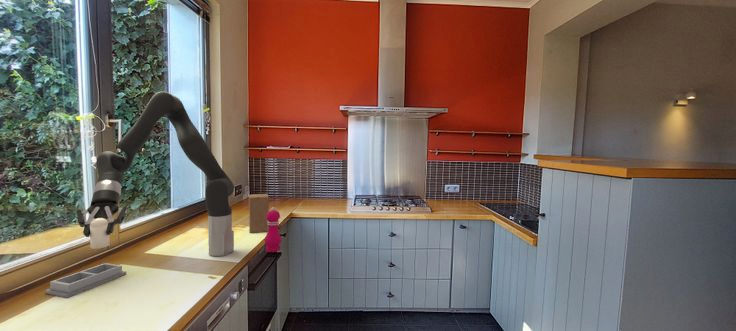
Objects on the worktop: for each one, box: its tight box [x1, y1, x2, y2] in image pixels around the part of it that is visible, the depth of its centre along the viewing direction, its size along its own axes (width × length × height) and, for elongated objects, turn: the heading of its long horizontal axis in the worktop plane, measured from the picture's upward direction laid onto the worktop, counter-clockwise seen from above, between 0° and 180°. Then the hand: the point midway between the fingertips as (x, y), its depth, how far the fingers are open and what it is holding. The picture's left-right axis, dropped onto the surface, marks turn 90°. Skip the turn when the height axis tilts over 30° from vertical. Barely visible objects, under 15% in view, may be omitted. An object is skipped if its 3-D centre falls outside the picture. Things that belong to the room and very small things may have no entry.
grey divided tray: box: [45, 262, 127, 299], centre depth 95 cm, size 10×17×4 cm, turn 166°
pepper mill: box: [264, 206, 282, 253], centre depth 129 cm, size 7×7×20 cm
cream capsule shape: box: [89, 218, 110, 250], centre depth 98 cm, size 5×5×10 cm
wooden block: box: [248, 193, 270, 234], centre depth 159 cm, size 10×10×20 cm
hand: (97, 234), depth 96 cm, fingers closed on cream capsule shape, 4 cm apart
